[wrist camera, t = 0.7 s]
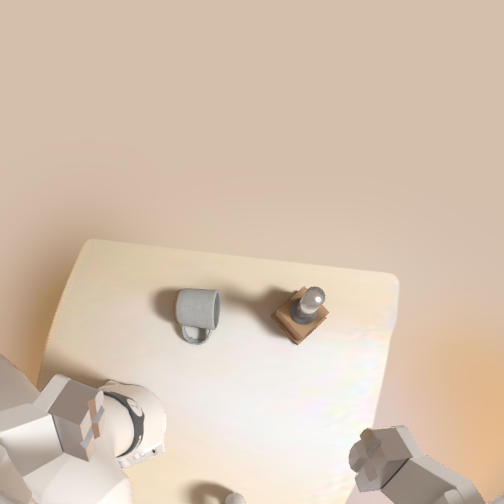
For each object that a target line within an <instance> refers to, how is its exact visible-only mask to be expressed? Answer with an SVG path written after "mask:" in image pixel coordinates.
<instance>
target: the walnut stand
mask: <svg viewBox="0 0 504 504" xmlns="http://www.w3.org/2000/svg"><path fill="white" fill-rule="evenodd" d="M306 291H307V289H306V288H305V287H303V288H302V289H300V290H299V291H298V292H297V293H296V294H295V295H294V296H293V297H291V298H290V299H289V300H288V301H287V302H286V303H285V304H283V305H282V306H281V307H280V308H279V309H278V310H277V311H276V312H275V313H274V314H272V315H271V317H272V318H273V319H274V320H275V321H276V322H277V323H278V324H279V325H280V327H281V328H282V329H283V330H284V331H285V332H286V333H287V334H288V335H289V336H290V337H291V338H292V340H293V341H294V342H295V343H296V344H297V345H298V344H299V343H301V342H302V341H303V340H304V339H305V338H306V337H307V336H308V335H309V334H310V333H311V332H312V331H313V330H314V329H316V328H317V327H318V326H319V325H320V324H321V323H322V322H323V321H324V320H325V319H326V317H325V316H326V315H327V314H328V313H329V312H328V311H327V310H326V309H325V307H324V306H323V305H321V306H320V307H319V308H318V309H317V310H316V311H315V312H314V313H313V314H312V315H311V317H309V318H308V319H300V318H299V317H298V316H297V315H296V312H295V310H296V307H297V305H298V304H299V302H300V300H301V299H302V297H303V296H304V294H305V292H306Z"/></svg>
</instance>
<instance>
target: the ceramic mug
mask: <svg viewBox="0 0 504 504" xmlns="http://www.w3.org/2000/svg"><path fill="white" fill-rule="evenodd" d="M219 316H220V293H219V291H218V290H204V289H181V290H179V291H178V293H177V294H176V297H175V300H174V318H175V320H176V321H177V323H179V324H182V334H183V336H184V338H185V339H186V340H187V341H188V342H190V343H192V344H196V345H201V344H203V343H205V342H206V341H207V340H208V339H209V337H210V335H211V333H212V330H215V329H216V328H217V326H218V322H219ZM185 325H186V326H193V327H199V328H205V329H209V334H208V336H207V338H206V339H205V340H202V341H201V340H196V339H193V338H192V337H189V336H188V335H187V333H186V330H185Z"/></svg>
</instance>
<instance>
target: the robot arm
mask: <svg viewBox="0 0 504 504" xmlns="http://www.w3.org/2000/svg"><path fill="white" fill-rule="evenodd" d="M166 428H167V417H166V413H165V410H164V408H163V406H162V404H161V402H160V401H159V400H158V398H157V397H156V396H155V395H154V394H153V393H151V392H150V391H149V390H147V389H145V388H143V387H140V386H137V385H123V384H120V383H118V382H116V381H113V380H110V381H107V382H106V383H105V384H104V386H103V387H99V388H98V389H96V388H94V387H91V386H89V385H86V384H83V383H81V382H78V381H76V380H74V379H71V378H68V377H66V376H63V375H61V374H59V373H58V374H56V375H54V376H53V378H52V379H51V380H50V381H49V383H48V384H47V385H46V387H45V388H44V389H43V390H42V392H40V391H39V390H38V389H37V388H36V387H35V386H34V385H33V384H32V383H31V381H30V380H29V379H28V378H27V377H26V375H25V374H24V373H23V372H21V371H20V370H19V369H18V368H17V367H16V366H15V365H13V364H12V363H11V362H10V361H8V360H7V359H6V358H5V357H4V356H2V355H1V354H0V504H34V503H33V500H32V498H33V499H34V500H35V501H36V502H37V503H38V504H131V503H132V488H131V483H130V480H129V478H128V476H127V475H126V474H125V473H124V471H123V470H122V469H121V468H124V467H127V466H130V465H133V464H136V463H139V462H142V461H144V460H147V459H150V458H153V457H155V456H158V455H161V454H163V453H164V452H165V443H164V436H165V432H166ZM360 438H361V440H360V441H358V442H357V443H355V444H354V445H353V447H352V448H351V450H350V454H349V464H350V467H351V469H352V470H354V471H355V472H356V473H357V474H356V476H355V481H356V483H357V486H358V489H359V491H360V492H368V491H375V490H381V492H382V493H384V494H385V495H386V496H387V497H388V498H389V499H390V500H391V501H392V502H393V503H395V504H504V493H502V494H501V495H499V496H497V497H496V498H494V499H493V500H491V501H489V502H487V503H485V502H484V500H483V498H482V497H481V495H480V493H479V492H478V490H477V489H476V487H475V486H474V484H473V482H472V481H471V480H469V479H467V478H465V477H464V476H462V475H460V474H458V473H457V472H455V471H453V470H451V469H450V468H448V467H446V466H444V465H443V464H441V463H439V462H438V461H436V460H434V459H433V458H431V457H429V456H428V455H423V453H422V452H421V450H420V448H419V447H418V445H417V443H416V442H415V440H414V438H413V437H412V435H411V434H410V432H409V430H408V429H407V427H405V426H404V425H402V426H392V427H377V428H367V429H365V430H364V431H363V432H362V433H361V435H360ZM153 449H154V450H155V451H156V452H153ZM31 497H32V498H31Z"/></svg>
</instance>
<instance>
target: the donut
mask: <svg viewBox="0 0 504 504" xmlns="http://www.w3.org/2000/svg"><path fill="white" fill-rule="evenodd" d="M225 504H246V502H245V499H244V497H243V496H242V495H241V494H238V493H231V494H229V495H228V496H227V497H226V499H225Z"/></svg>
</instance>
